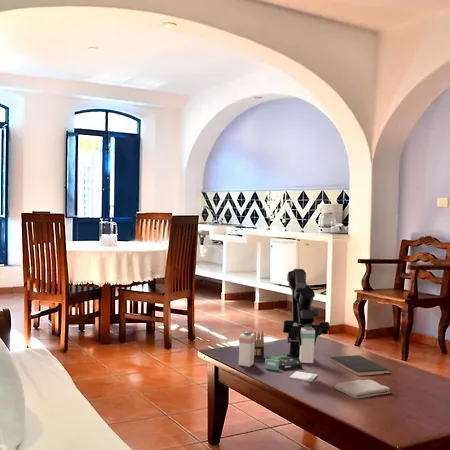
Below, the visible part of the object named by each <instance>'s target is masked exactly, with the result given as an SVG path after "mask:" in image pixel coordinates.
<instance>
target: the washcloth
mask: <svg viewBox="0 0 450 450" xmlns="http://www.w3.org/2000/svg"><path fill="white" fill-rule="evenodd" d="M334 388H335V390H337V391H338V392H341V393H344V394H345V395H347V396H349V397H351V398H353V399H364V398H369V397H375V396H380V395H381V394H382V395H387V394H388V393H389V394H391V392H390V389H391V388H390V387H388V386H386V385H382V384H381V383H378V382H377V381H375V380H371V379H363V380H362V379H356V380H349V381H344V382H338V383H337V384H335V386H334Z"/></svg>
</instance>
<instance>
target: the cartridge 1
mask: <svg viewBox="0 0 450 450" xmlns="http://www.w3.org/2000/svg"><path fill="white" fill-rule="evenodd" d="M243 332H244V333H241V334H240V335H239V338H238V343H239V346H238V347H239V348H238V366H243V367H248V368H250V367H251V366H253V365H254V364H255V358H254V343H255V334H254V333H252V334H251V331H248V332H247V331H243Z"/></svg>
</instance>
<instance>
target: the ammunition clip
mask: <svg viewBox="0 0 450 450" xmlns="http://www.w3.org/2000/svg"><path fill="white" fill-rule="evenodd" d="M244 332H245V331H243V333H244ZM246 332H249V331H248V330H247V331H246ZM250 332H251V334H255V343H254V359H258V358H259V359H261V358H262V359H263V358H265V347H264V346H265V340H264V331H261V333H260V330H258V332H256V331H254V332H253V331H252V330H251V331H250ZM243 333H242V334H243Z"/></svg>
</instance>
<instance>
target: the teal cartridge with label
mask: <svg viewBox="0 0 450 450" xmlns="http://www.w3.org/2000/svg"><path fill="white" fill-rule="evenodd" d="M264 369H266V370H267V369H268V370H272V371H279V370H280V369H279V361H277V360H271V359H264Z"/></svg>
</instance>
